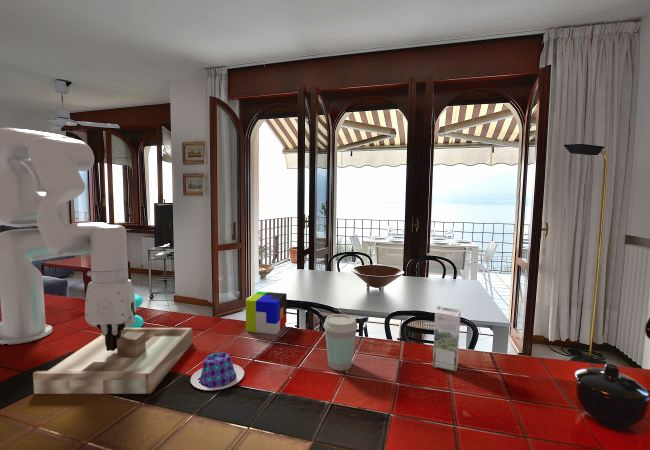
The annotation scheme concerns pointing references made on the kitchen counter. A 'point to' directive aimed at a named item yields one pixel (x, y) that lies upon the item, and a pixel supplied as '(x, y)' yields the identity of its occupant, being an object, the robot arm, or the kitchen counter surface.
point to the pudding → (217, 372)
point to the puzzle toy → (266, 312)
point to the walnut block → (131, 345)
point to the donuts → (137, 318)
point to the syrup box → (446, 338)
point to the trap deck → (116, 366)
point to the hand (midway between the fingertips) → (113, 348)
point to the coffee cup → (340, 340)
